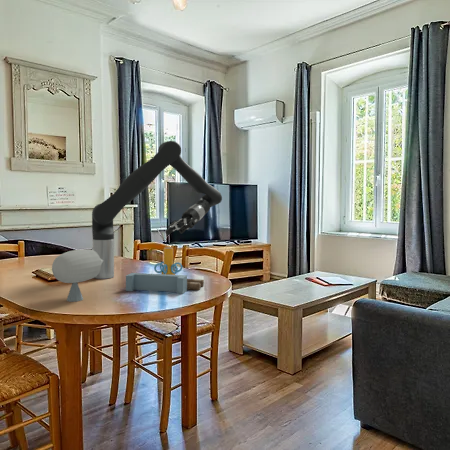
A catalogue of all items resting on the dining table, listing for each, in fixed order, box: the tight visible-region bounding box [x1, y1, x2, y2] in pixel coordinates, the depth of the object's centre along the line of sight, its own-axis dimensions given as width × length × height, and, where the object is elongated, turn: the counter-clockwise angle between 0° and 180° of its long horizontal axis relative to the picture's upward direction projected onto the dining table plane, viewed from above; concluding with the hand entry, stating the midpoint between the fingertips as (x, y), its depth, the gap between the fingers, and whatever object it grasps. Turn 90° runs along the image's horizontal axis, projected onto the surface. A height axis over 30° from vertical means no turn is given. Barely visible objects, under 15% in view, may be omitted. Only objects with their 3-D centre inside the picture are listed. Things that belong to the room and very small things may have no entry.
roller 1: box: [187, 278, 205, 288], centre depth 167 cm, size 8×3×3 cm, turn 81°
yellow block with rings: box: [153, 246, 183, 275], centre depth 173 cm, size 12×10×15 cm
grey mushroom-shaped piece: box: [51, 248, 103, 303], centre depth 143 cm, size 15×20×18 cm
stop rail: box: [125, 272, 188, 295], centre depth 158 cm, size 23×6×6 cm, turn 81°
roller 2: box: [187, 282, 202, 291], centre depth 161 cm, size 8×3×3 cm, turn 81°
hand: (173, 232), depth 179 cm, fingers open, 8 cm apart
